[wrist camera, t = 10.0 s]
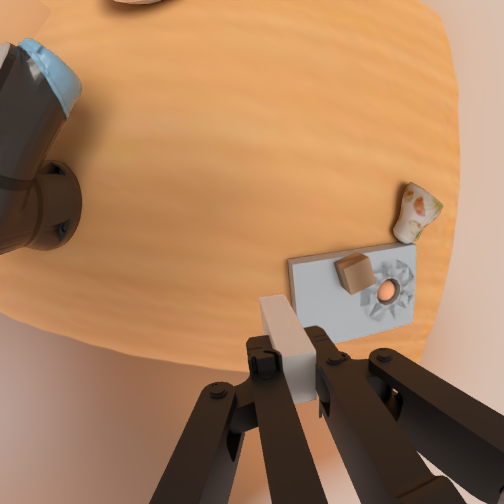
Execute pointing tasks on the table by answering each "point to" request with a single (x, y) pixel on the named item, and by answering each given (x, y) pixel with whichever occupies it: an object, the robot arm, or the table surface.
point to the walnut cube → (355, 272)
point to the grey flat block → (361, 303)
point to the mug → (416, 213)
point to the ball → (385, 290)
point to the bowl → (138, 1)
